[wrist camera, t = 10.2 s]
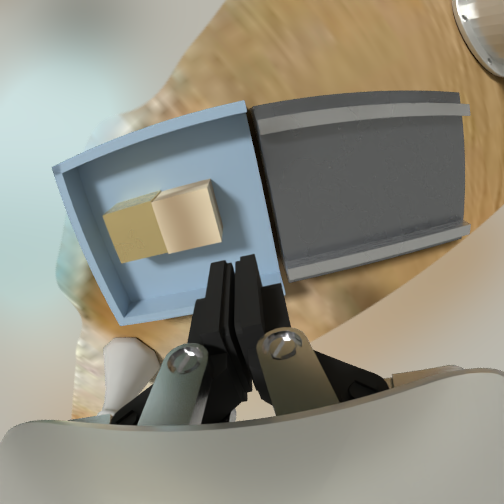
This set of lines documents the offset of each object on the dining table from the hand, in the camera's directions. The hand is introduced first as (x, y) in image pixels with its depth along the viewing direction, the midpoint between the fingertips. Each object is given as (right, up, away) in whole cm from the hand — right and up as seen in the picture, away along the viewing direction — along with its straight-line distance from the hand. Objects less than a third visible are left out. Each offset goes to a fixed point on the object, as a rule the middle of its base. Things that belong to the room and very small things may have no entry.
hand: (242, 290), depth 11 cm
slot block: (+10, +9, +13) cm, 19 cm away
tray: (-6, +5, +14) cm, 16 cm away
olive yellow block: (-8, +4, +11) cm, 15 cm away
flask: (-14, -11, +21) cm, 28 cm away
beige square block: (-4, +5, +11) cm, 13 cm away
